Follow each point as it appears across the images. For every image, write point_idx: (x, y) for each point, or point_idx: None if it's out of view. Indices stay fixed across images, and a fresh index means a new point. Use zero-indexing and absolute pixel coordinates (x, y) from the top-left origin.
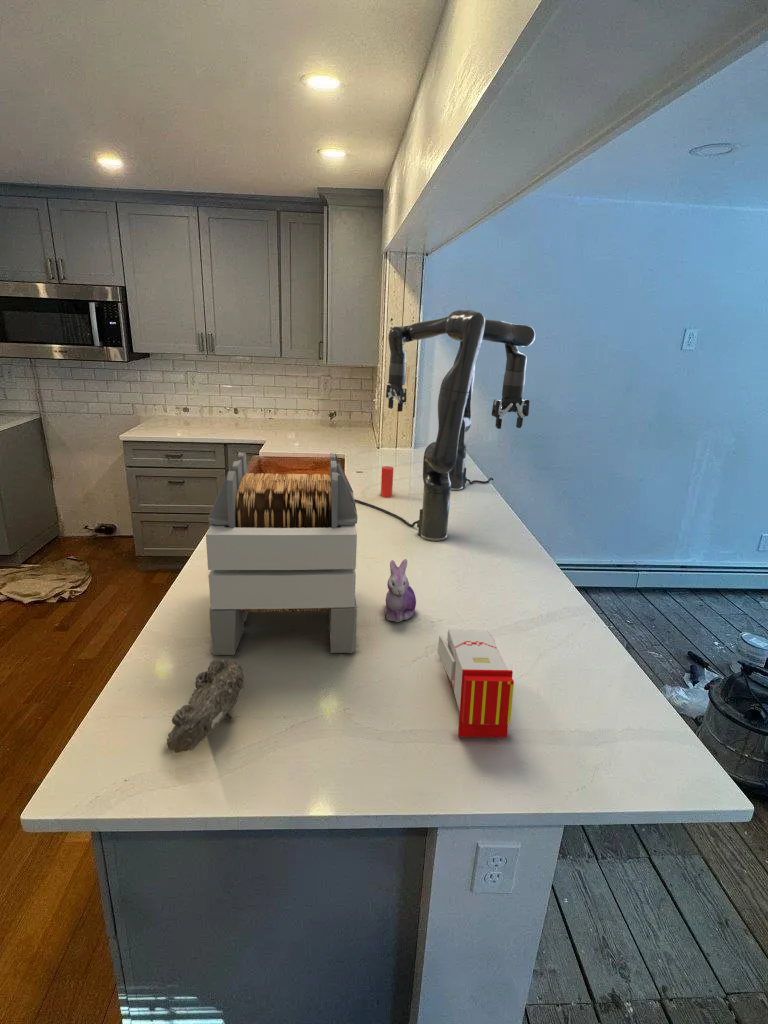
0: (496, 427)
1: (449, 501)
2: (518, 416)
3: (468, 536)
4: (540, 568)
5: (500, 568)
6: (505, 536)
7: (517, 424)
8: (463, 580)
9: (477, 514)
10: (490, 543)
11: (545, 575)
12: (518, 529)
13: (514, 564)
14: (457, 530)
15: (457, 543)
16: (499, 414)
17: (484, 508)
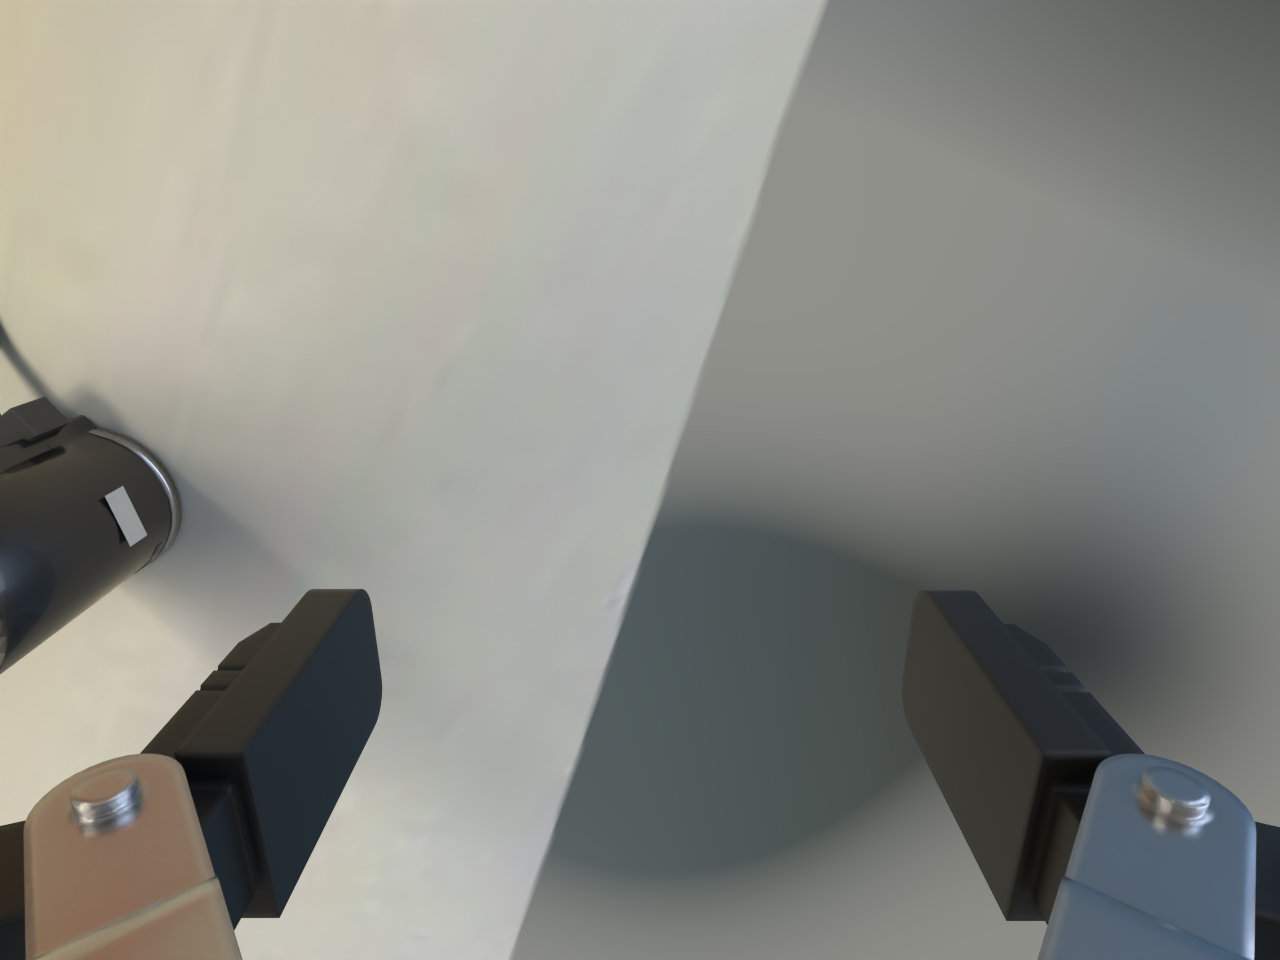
0: (316, 593)
1: (10, 662)
2: (1074, 822)
3: (309, 545)
4: (487, 892)
5: (320, 858)
6: (516, 592)
7: (939, 668)
8: None
9: (522, 223)
10: (391, 648)
11: (472, 936)
12: (646, 526)
13: (397, 844)
14: (275, 453)
15: (216, 609)
16: (159, 891)
17: (638, 110)
